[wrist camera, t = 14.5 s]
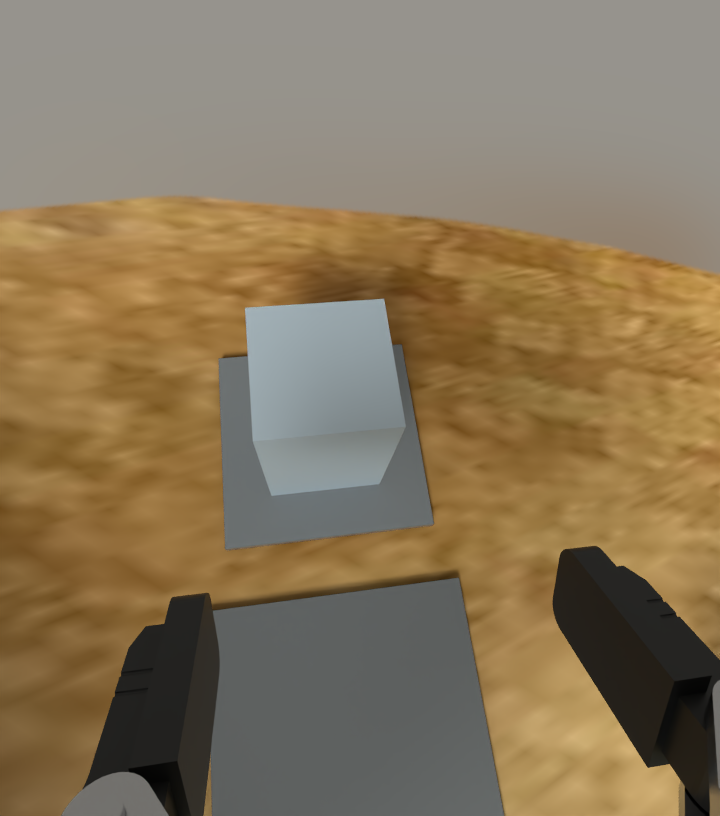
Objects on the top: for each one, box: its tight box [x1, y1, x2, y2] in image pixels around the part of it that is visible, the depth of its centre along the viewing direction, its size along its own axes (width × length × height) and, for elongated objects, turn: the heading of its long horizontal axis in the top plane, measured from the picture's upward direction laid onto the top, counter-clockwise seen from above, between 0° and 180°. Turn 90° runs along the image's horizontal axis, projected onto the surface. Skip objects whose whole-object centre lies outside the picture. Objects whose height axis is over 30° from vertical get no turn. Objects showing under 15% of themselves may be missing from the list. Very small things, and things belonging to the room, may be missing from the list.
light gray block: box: [245, 299, 406, 496], centre depth 28 cm, size 6×6×10 cm
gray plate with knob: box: [219, 344, 434, 551], centre depth 31 cm, size 12×12×4 cm
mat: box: [211, 578, 504, 816], centre depth 27 cm, size 14×14×1 cm
